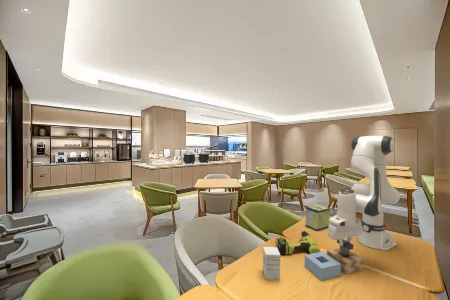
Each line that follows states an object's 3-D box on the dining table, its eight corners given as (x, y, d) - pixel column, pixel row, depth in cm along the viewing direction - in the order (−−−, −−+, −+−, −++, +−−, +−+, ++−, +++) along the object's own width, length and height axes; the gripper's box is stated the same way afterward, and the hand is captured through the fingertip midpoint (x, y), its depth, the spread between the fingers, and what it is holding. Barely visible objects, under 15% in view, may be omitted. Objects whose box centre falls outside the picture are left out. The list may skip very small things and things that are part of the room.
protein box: (329, 227, 162) (330, 207, 162) (316, 231, 155) (317, 210, 154) (317, 222, 171) (318, 203, 171) (305, 226, 164) (305, 206, 163)
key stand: (343, 257, 121) (343, 247, 120) (362, 269, 109) (363, 258, 109) (326, 261, 117) (326, 250, 117) (344, 274, 106) (345, 262, 105)
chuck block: (322, 262, 116) (322, 251, 116) (340, 275, 105) (340, 264, 104) (304, 266, 112) (304, 255, 112) (321, 280, 101) (321, 268, 101)
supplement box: (262, 270, 109) (262, 246, 108) (276, 270, 108) (277, 246, 108) (264, 279, 101) (265, 254, 100) (280, 280, 101) (280, 254, 100)
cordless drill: (271, 235, 147) (308, 237, 145) (278, 256, 122) (322, 258, 120) (272, 226, 146) (308, 227, 145) (278, 245, 122) (322, 247, 120)
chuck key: (335, 261, 116) (336, 238, 116) (340, 260, 117) (341, 237, 117) (348, 270, 109) (349, 245, 108) (352, 269, 110) (353, 244, 109)
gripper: (355, 215, 118) (354, 239, 119) (326, 219, 112) (325, 244, 112) (365, 219, 112) (364, 244, 113) (336, 224, 106) (334, 250, 106)
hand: (344, 244), depth 113 cm, fingers open, 3 cm apart
